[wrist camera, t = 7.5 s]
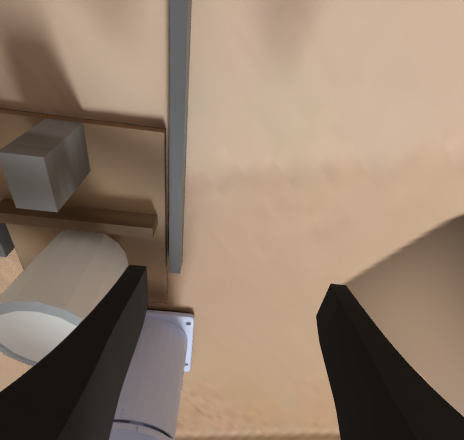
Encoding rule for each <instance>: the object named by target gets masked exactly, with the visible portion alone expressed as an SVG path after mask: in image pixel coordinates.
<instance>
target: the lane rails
mask: <svg viewBox="0 0 464 440" xmlns="http://www.w3.org/2000/svg"><path fill="white" fill-rule="evenodd" d="M191 4H192V0H170V143H169V273H179V274H180V271H181V266H182V256H183V228H184V200H185V172H186V144H187V116H188V88H189V60H190V32H191ZM14 248H15V246H14V244H13V241H12V239H11V236H10V234H9V231H8V228H7V226H6V223H0V257H7V256H8V254H9V253H10V252H11V251H12V250H13V249H14Z"/></svg>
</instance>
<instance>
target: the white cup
mask: <svg viewBox="0 0 464 440" xmlns="http://www.w3.org/2000/svg"><path fill="white" fill-rule="evenodd" d="M127 267H128V261H127V256H126V253H125V252H124V250H123V249H122V248H121V246H120V245H119V244H118V243H117V242H116V241H115V240H113V239H112V238H110V237H109V236H107V235H106V234H104V233H96V232H87V231H77V230H65V231H62V232H60V233H59V234H58V235H57V236H56V237H55V238H54V239H53V240H52V241H51V242H50V243H49V244H48V245H47V246H46V247H45V248H44V249H43V251H42V252H41V253H40V254H39V255H38V256H37V257H36V258H35V259H34V260H33V261H32V262H31V263H30V264H29V266H28V267H27V268H26V269H25V270H24V271H23V272H22V273H21V274H20V275H19V276H18V277H17V278H16V279H15V280H14V282H13V283H12V284H11V285H10V286H9V287H8V288H7V289H6V290H5V291H4V292H3V293H2V294H1V295H0V351H1V352H2V353H4V354H5V355H7V356H9V357H11V358H13V359H16V360H18V361H21V362H23V363H25V364H28V365H32V366H34V365H35V364H37V363H38V362H39V361H40V360H41V359H43V358H44V357H45V356H46V355H47V354H48V353H50V352H51V351H52V350H53V349H54V348H55V347H56V346H57V345H58V344H59V343H61V342H62V341H63V340H64V339H65V338H66V337H67V336H68V335H69V334H70V333H71V332H72V331H73V330H74V329H75V328H76V327H77V326H78V325H79V324H80V323H81V322H82V321H83V320H84V319H85V318H86V316H87V315H88V314H89V313H90V312H91V311H92V310H93V309H94V308H95V307H96V306H97V304H98V303H99V302H100V301H101V300H102V299H103V297H104V296H105V295H106V294H107V293H108V292H109V290H110V289H111V288H112V287H113V285H114V284H115V283H116V282H117V280H118V279H119V278H120V276H121V275H122V274H123V272H124V271H125V270H126V268H127Z"/></svg>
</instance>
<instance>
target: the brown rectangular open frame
mask: <svg viewBox="0 0 464 440" xmlns="http://www.w3.org/2000/svg"><path fill="white" fill-rule="evenodd" d="M0 223H6V226H7V228H8V231H9V234H10V236H11V239H12V241H13V244H14V246H15V249H16V252H17V254H18V257H19V259H20V262H21V264H22V267H23V270H25V269H26V268H27V267H28V266H29V264H30V263H31V262H32V261H33V260H34V259H35V258H36V257H37V256H38V255H39V254H40V253H41V252H42V251H43V249H44V248H45V247H46V246H47V245H48V244H49V243H50V242H51V241H52V240H53V239H54V238H55V237H56V236H57V235H58V234H59V233H60V232H62V231H65V230H77V231H87V232H96V233H104V234H106V235H107V236H109V237H110V238H112V239H113V240H115V241H116V242H117V243H118V244H119V245H120V246H121V248H122V249H123V250H124V252H125V253H126V256H127V261H128V266H129V265H140V266H147V281H148V298H149V302H158V303H166V300H167V190H166V129H163V128H154V127H146V126H138V125H130V124H121V123H113V122H105V121H97V120H88V119H80V118H72V117H64V116H55V115H47V114H39V113H31V112H23V111H14V110H6V109H0Z"/></svg>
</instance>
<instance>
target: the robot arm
mask: <svg viewBox="0 0 464 440" xmlns="http://www.w3.org/2000/svg"><path fill="white" fill-rule="evenodd" d="M148 302H149V298H148V281H147V266H140V265H129V266H128V267H127V268H126V270H125V271H124V272H123V274H122V275H121V276H120V278H119V279H118V280H117V282H116V283H115V284H114V285H113V287H112V288H111V289H110V290H109V292H108V293H107V294H106V295H105V296H104V297H103V299H102V300H101V301H100V302H99V303H98V304H97V306H96V307H95V308H94V309H93V310H92V311H91V312H90V313H89V314H88V315H87V316H86V318H85V319H84V320H83V321H82V322H81V323H80V324H79V325H78V326H77V327H76V328H75V329H74V330H73V331H72V332H71V333H70V334H69V335H68V336H67V337H66V338H65V339H64V340H63V341H62V342H61V343H59V344H58V345H57V346H56V347H55V348H54V349H53V350H52V351H51V352H50V353H48V354H47V355H46V356H45V357H44V358H43V359H41V360H40V361H39V362H38V363H37V364H35V365H34V366H33V367H32V368H31V369H30V370H28V371H27V372H26V373H25V374H23V375H22V376H21V377H20V378H18V379H17V380H16V381H14V382H13V383H12V384H10V385H9V386H8V387H6V388H5V389H4V390H2V391H1V392H0V440H174V439H175V432H176V425H177V418H178V411H179V404H180V396H181V389H182V382H183V375H184V372H188V371H190V368H191V355H192V343H193V330H194V315H192V314H189V313H178V312H167V311H156V310H147V306H148ZM316 318H317V327H318V335H319V342H320V346H321V350H322V354H323V358H324V362H325V366H326V370H327V374H328V378H329V382H330V386H331V390H332V394H333V398H334V402H335V407H336V412H337V418H338V424H339V431H340V437H341V440H464V417H463V416H462V415H461V414H460V413H459V412H457V411H456V410H455V409H454V408H453V407H452V406H451V405H450V404H449V403H448V402H447V401H445V400H444V399H443V398H442V397H441V396H440V395H439V394H438V393H437V392H436V391H435V390H434V389H433V388H432V387H431V386H430V385H429V384H428V383H427V382H426V381H425V380H424V379H423V378H422V377H421V376H420V375H419V374H418V373H417V372H416V371H415V370H414V369H413V368H412V367H411V366H410V365H409V364H408V363H407V361H406V360H405V359H404V358H403V357H402V356H401V355H400V354H399V352H398V351H397V350H396V349H395V348H394V347H393V346H392V344H391V343H390V342H389V341H388V340H387V338H386V337H385V336H384V335H383V333H382V332H381V331H380V330H379V328H378V327H377V326H376V325H375V323H374V322H373V321H372V319H371V318H370V317H369V316H368V314H367V313H366V312H365V310H364V309H363V308H362V306H361V305H360V304H359V302H358V301H357V300H356V298H355V297H354V296H353V294H352V293H351V292H350V290H349V289H348V288H347V286H346V285H338V284H330V286H329V289H328V291H327V293H326V295H325V298H324V300H323V302H322V304H321V306H320V309H319V311H318V313H317V315H316Z"/></svg>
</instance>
